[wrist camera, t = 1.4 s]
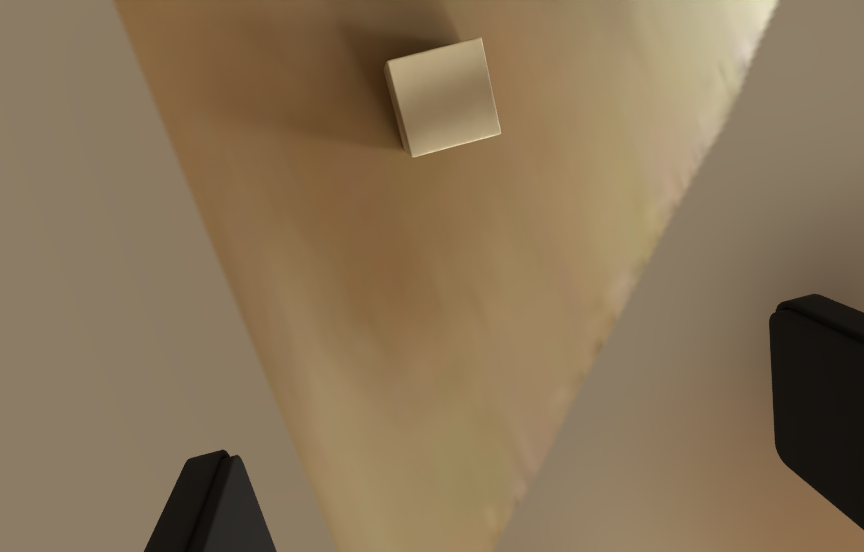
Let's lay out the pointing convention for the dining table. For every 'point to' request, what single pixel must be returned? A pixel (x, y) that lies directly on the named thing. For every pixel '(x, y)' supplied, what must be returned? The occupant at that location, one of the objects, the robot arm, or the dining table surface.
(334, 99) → the dining table surface
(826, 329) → the robot arm
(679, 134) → the dining table surface
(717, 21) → the dining table surface
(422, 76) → the cube
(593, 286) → the dining table surface
